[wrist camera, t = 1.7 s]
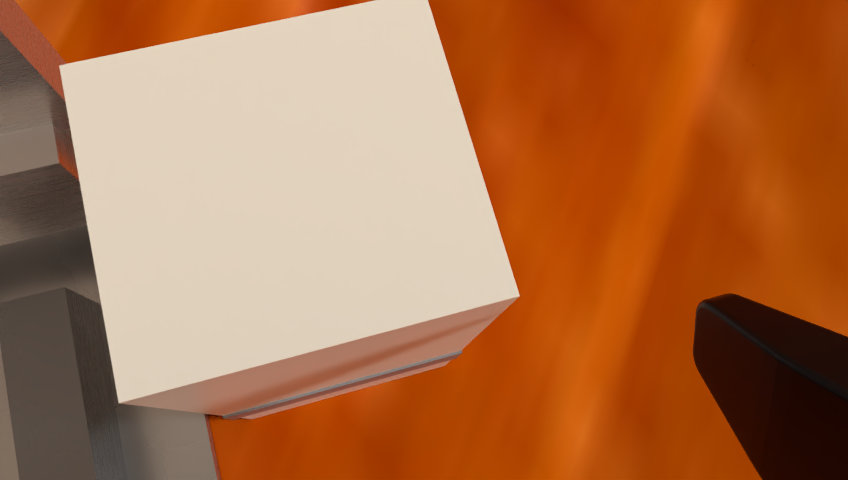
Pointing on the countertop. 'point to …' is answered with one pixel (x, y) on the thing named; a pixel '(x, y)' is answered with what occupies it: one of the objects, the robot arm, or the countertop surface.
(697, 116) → the countertop surface
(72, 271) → the rail mount
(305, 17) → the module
